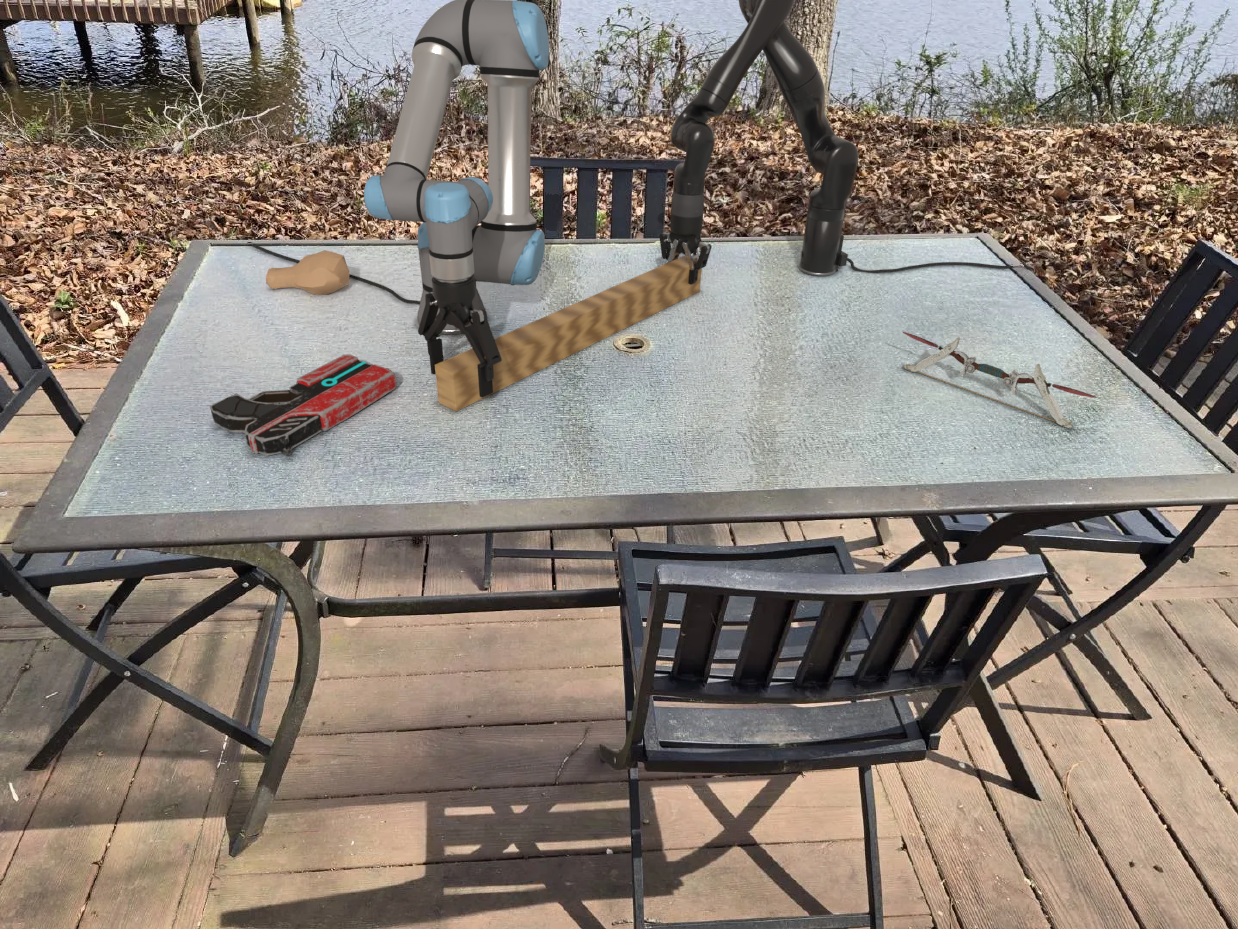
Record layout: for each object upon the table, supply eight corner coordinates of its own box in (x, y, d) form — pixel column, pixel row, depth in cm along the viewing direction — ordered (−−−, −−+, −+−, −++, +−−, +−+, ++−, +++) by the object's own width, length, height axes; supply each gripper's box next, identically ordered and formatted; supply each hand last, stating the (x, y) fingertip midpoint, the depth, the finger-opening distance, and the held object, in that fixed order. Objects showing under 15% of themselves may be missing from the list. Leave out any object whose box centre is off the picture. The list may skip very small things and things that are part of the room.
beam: (456, 411, 164) (452, 373, 160) (438, 402, 167) (434, 364, 162) (699, 291, 215) (702, 259, 211) (683, 286, 218) (685, 254, 213)
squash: (349, 299, 206) (336, 265, 200) (267, 306, 208) (252, 273, 202) (359, 274, 214) (347, 241, 208) (280, 281, 216) (266, 249, 209)
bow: (1085, 430, 164) (1103, 383, 158) (1082, 434, 163) (1099, 386, 157) (897, 362, 185) (907, 319, 179) (893, 365, 184) (902, 321, 178)
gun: (194, 409, 153) (271, 444, 146) (327, 342, 175) (400, 368, 168) (201, 431, 156) (277, 466, 148) (331, 362, 178) (403, 389, 170)
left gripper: (518, 288, 150) (522, 397, 162) (423, 253, 163) (433, 356, 175) (486, 300, 145) (492, 412, 157) (391, 263, 158) (403, 369, 170)
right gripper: (722, 213, 201) (715, 283, 210) (672, 200, 208) (668, 268, 218) (703, 221, 196) (697, 292, 206) (652, 207, 204) (649, 276, 213)
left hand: (461, 383), depth 166 cm, fingers open, 13 cm apart
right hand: (682, 280), depth 212 cm, fingers closed on beam, 5 cm apart
